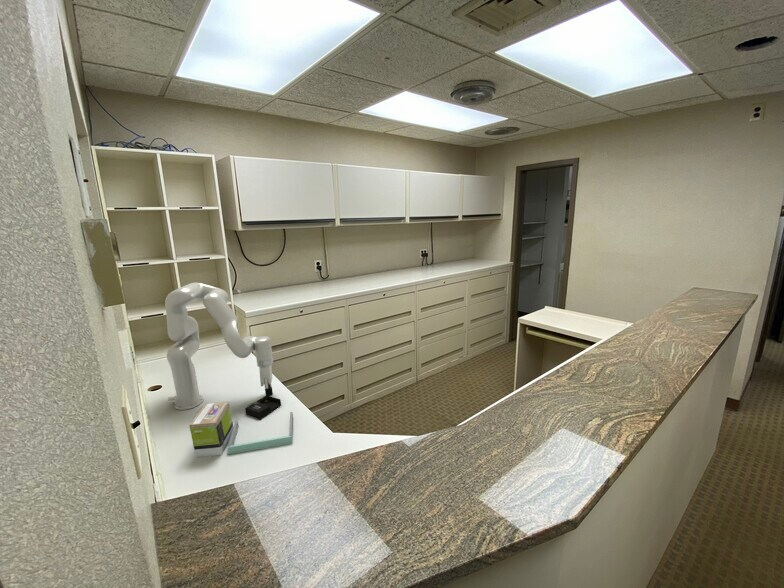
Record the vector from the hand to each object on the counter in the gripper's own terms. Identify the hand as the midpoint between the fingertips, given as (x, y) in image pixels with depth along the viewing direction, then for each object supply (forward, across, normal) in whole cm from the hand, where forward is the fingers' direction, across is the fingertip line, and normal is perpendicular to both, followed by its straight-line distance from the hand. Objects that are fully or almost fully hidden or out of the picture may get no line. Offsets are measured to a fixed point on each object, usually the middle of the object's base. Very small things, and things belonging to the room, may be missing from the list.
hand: (269, 395), depth 178 cm
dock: (+1, +31, 0) cm, 31 cm away
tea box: (+2, +32, -18) cm, 37 cm away
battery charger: (+2, +12, -2) cm, 12 cm away
